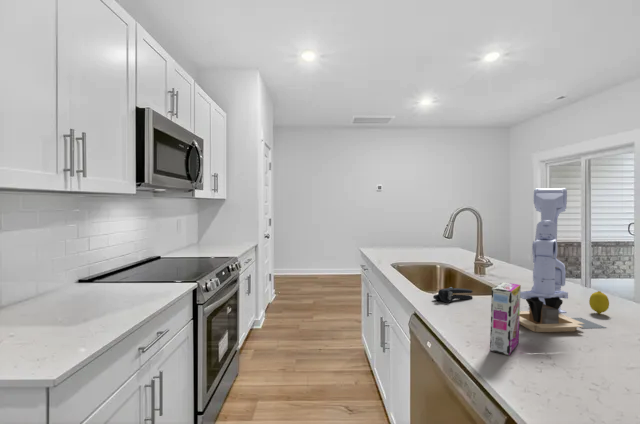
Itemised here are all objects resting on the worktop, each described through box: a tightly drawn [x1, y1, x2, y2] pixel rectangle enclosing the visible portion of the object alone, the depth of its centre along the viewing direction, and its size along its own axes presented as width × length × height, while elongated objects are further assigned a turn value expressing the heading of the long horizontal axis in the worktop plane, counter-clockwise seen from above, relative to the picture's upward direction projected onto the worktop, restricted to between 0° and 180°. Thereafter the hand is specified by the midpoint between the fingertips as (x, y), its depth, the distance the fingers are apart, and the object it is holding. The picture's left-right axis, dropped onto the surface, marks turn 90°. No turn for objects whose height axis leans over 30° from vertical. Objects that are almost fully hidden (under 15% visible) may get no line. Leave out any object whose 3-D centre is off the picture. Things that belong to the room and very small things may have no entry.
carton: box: [519, 310, 584, 333], centre depth 115 cm, size 16×18×2 cm
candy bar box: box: [489, 282, 521, 356], centre depth 98 cm, size 11×5×16 cm, turn 141°
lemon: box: [588, 290, 610, 315], centre depth 129 cm, size 6×6×8 cm
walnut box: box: [528, 304, 559, 324], centre depth 115 cm, size 8×4×6 cm, turn 5°
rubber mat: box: [571, 317, 607, 329], centre depth 118 cm, size 10×8×1 cm
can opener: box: [433, 286, 474, 303], centre depth 147 cm, size 18×7×6 cm, turn 112°
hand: (543, 321), depth 115 cm, fingers closed on walnut box, 4 cm apart
